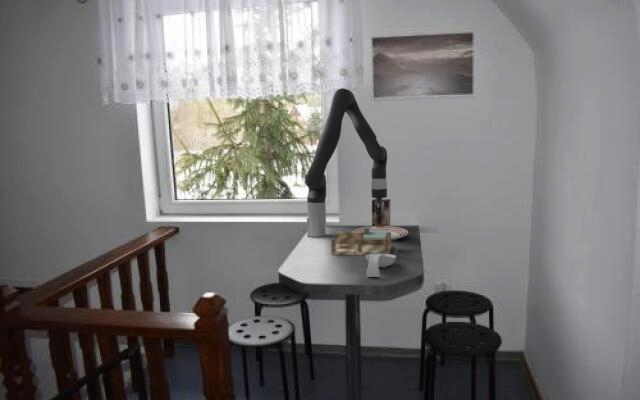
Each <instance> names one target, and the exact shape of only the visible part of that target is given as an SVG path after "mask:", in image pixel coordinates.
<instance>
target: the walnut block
mask: <svg viewBox="0 0 640 400" xmlns="http://www.w3.org/2000/svg"><path fill="white" fill-rule="evenodd" d="M374 222H375V227H385V225H386V213H382V223H377V215H376V213H375V214H374Z"/></svg>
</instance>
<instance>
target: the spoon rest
mask: <svg viewBox="0 0 640 400" xmlns="http://www.w3.org/2000/svg"><path fill="white" fill-rule="evenodd" d="M365 259H366V261H367V262H368V265H367V269H366V278H368V277H379V278H380V276H381V275H380V268H379V267H383V268H387V267H386V266H388V267H389V266H390V265H391V266H392V264H393V263H394V262H395V261H396V259H397V256H396V255H395V254H390V253H389V254H370V255H365Z"/></svg>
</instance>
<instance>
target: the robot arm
mask: <svg viewBox="0 0 640 400" xmlns="http://www.w3.org/2000/svg"><path fill="white" fill-rule="evenodd" d="M330 103H331V104H330V108H329V112H328V115H327V118H326V120H325V123H324V126H323V128H322V131H321V133H320V137H319V139H318V143H317V146H316V150H315V153H314V156H313V160H312V162H311V164H310V167H309V168H308V170H307V173H306V175H305V179H304V182H305V185H306V187H307V188H308V194H307V197H306V201H307V202H306V203H307V205H306V206H307V217H306V233H307V237H311V238H319V237H320V238H321V237H325V236H327V210H326V209H327V207H326V206H327V205H326V198H327V176H326V175H325V174H326V173H325V172H326V168H327V166H328V163H329V162H330V160H331V158H332V157H333V155H334V153H335V151H336V149H337V146H338V144H339V141H340V138H341V134H342V133H341V132H342V124H343V123H342V122H343V119H344V116H345V113H346V115H348V117H349V119H350V121H351V123H352V125H353V127H354V130H355V132H356V133H357V135H358V137H359V138H360V140H361V142H362V143H363V145H364V147H365V150H366V151H367V154H368V156H369V157H370V159H372V163H373V164H372V165H373V166H372V168H371V182H370V183H371V184H370V185H371V186H370V187H371V189H370V191H371V198H372V199H377V201H376V202H375V205H376V215H377V223H382V213H383V209H384V201H383V200H382V199H386V198H387V197H388V180H387V164H388V150H387V149H386V148H385V147H384V146H383V145H380V143H379V141H378V140H377V139H378V138H377V135H376V134H375V132H374V130H373V129H372V127H371V125H370V124H369V122H368V121H367V119H366V117H365V116H364V114H363V112H362V111H361V109H360V107H359V105H358V104H359V103H358V102H357V100H356V97H355V95H354V93H353V92H352V91H351V90H350V89H347V88H343V87H342V88H338V89H337V90H336V91H335V92H334V93H333V96H332V100H331V102H330Z"/></svg>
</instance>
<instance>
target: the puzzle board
mask: <svg viewBox="0 0 640 400" xmlns="http://www.w3.org/2000/svg"><path fill="white" fill-rule="evenodd" d="M336 236H337V237H336V238H337V241H336V238H333V237H332V238H330V239H331V240H330V247H331V255H332V256H367V255H370V254H390V253H391V249H392V241H391V232H387V235H386V238H385V240H372V239H363V236H364V232H353V231H337V232H336Z"/></svg>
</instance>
